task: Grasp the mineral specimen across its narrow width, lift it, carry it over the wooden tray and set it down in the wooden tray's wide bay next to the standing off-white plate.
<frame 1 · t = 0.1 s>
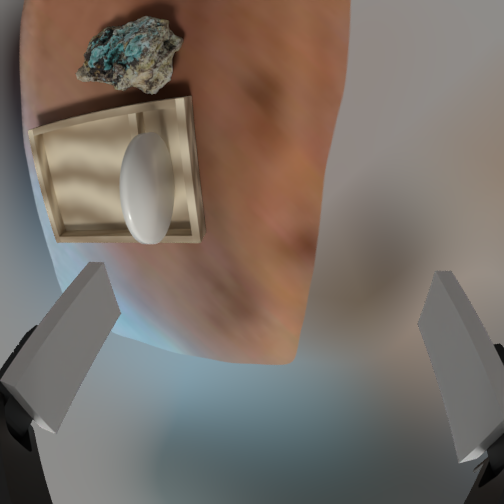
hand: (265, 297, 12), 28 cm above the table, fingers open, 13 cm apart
wooden tray: (114, 173, 40), on the table
mineral specimen: (135, 57, 32), on the table
standing plate: (172, 168, 39), resting on wooden tray
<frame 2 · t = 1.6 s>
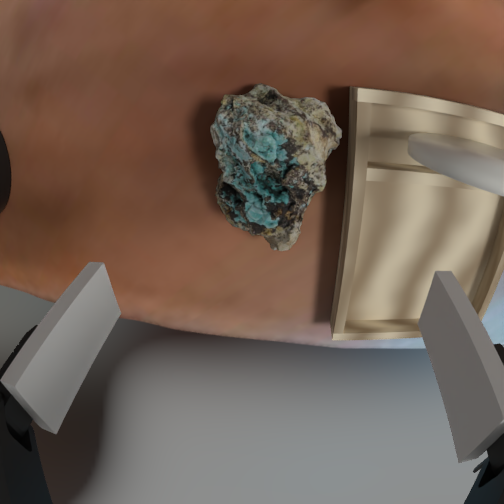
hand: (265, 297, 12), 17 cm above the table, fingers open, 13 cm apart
wooden tray: (431, 225, 27), on the table
mineral specimen: (274, 162, 26), on the table
standing plate: (445, 138, 23), resting on wooden tray
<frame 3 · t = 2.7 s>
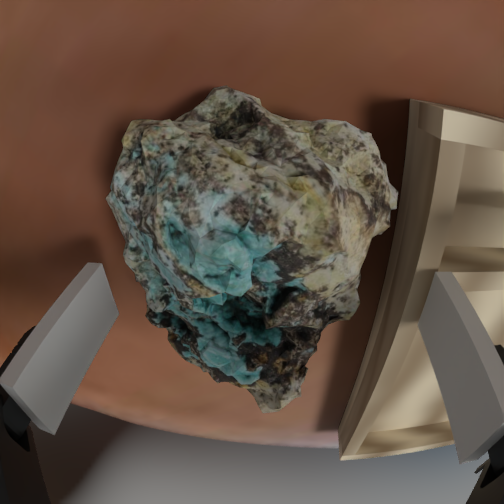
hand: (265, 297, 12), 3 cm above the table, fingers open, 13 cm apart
wooden tray: (495, 321, 16), on the table
mineral specimen: (257, 238, 15), on the table
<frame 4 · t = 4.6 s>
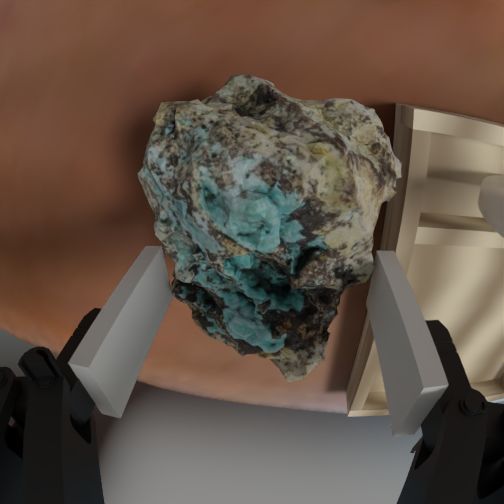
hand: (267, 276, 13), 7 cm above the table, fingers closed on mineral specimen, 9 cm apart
wooden tray: (479, 286, 20), on the table
mineral specimen: (273, 217, 15), point 4 cm above the table, touching gripper
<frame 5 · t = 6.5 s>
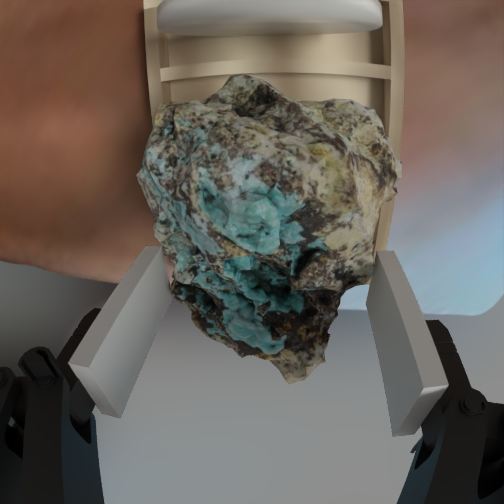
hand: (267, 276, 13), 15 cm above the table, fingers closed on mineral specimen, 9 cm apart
wooden tray: (277, 134, 24), on the table
mineral specimen: (272, 217, 15), point 11 cm above the table, touching gripper
standing plate: (274, 30, 20), resting on wooden tray
when the fingers open (4 cm above the table, at t = 8.6 s): mineral specimen stays where it is, resting on wooden tray.
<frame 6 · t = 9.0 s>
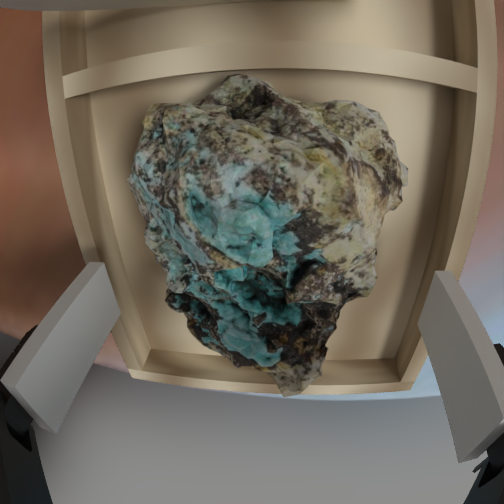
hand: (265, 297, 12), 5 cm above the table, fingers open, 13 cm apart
wooden tray: (271, 179, 14), on the table
mineral specimen: (273, 224, 15), point 1 cm above the table, touching wooden tray
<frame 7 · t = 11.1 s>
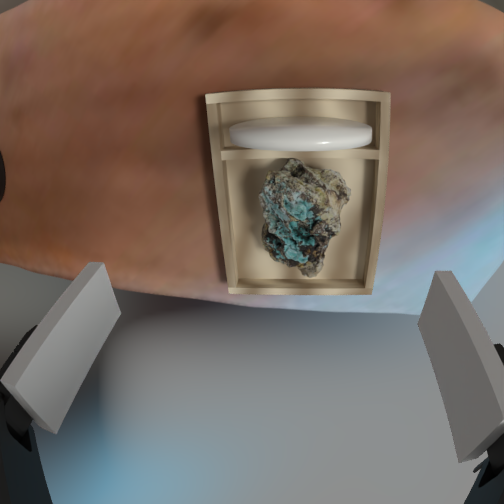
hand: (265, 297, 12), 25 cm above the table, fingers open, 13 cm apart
wooden tray: (301, 194, 36), on the table
mineral specimen: (302, 211, 36), point 1 cm above the table, touching wooden tray
standing plate: (299, 119, 32), resting on wooden tray
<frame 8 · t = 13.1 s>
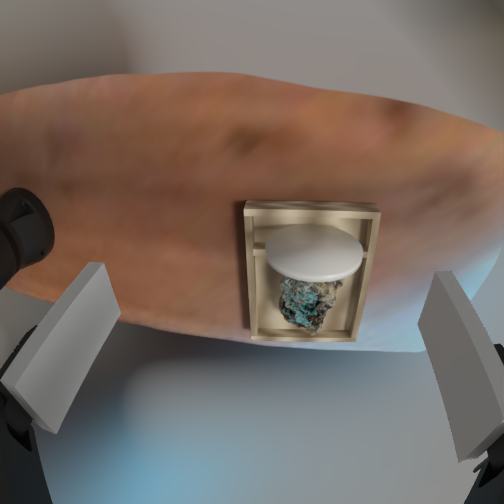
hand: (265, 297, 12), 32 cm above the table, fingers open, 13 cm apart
wooden tray: (308, 274, 49), on the table
mineral specimen: (308, 286, 50), point 1 cm above the table, touching wooden tray
standing plate: (311, 224, 45), resting on wooden tray
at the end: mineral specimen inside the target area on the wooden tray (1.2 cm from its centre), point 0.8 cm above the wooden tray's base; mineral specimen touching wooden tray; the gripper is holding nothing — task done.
